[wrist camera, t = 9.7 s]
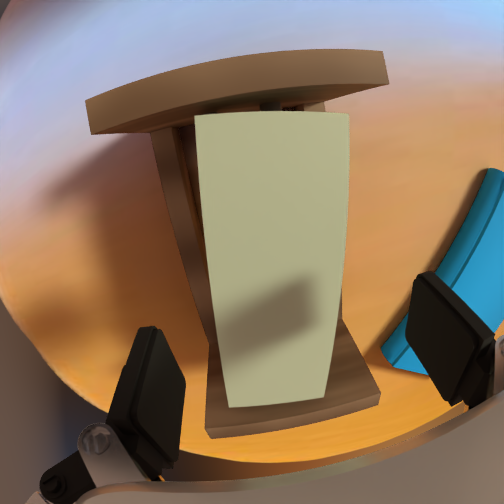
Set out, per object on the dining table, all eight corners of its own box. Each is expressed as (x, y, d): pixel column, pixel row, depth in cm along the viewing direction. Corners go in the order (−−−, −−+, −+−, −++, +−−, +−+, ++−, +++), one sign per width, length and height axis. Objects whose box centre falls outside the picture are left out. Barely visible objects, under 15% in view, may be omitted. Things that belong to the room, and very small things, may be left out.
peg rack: (156, 114, 20) (85, 100, 9) (309, 87, 20) (382, 51, 9) (214, 336, 28) (210, 438, 17) (332, 313, 28) (378, 404, 17)
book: (546, 238, 23) (458, 382, 31) (527, 228, 27) (445, 364, 35) (507, 170, 19) (390, 369, 27) (480, 163, 23) (376, 346, 31)
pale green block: (205, 121, 14) (194, 115, 10) (314, 118, 15) (349, 113, 10) (228, 355, 21) (228, 407, 16) (307, 347, 21) (323, 397, 16)
